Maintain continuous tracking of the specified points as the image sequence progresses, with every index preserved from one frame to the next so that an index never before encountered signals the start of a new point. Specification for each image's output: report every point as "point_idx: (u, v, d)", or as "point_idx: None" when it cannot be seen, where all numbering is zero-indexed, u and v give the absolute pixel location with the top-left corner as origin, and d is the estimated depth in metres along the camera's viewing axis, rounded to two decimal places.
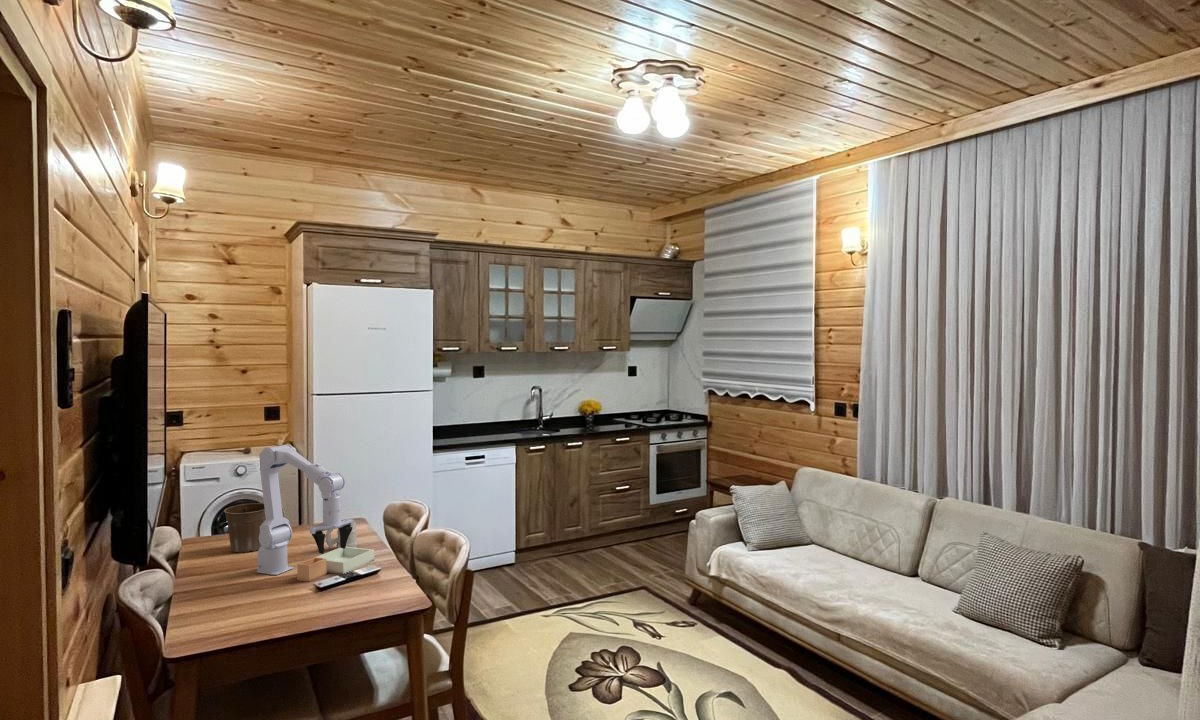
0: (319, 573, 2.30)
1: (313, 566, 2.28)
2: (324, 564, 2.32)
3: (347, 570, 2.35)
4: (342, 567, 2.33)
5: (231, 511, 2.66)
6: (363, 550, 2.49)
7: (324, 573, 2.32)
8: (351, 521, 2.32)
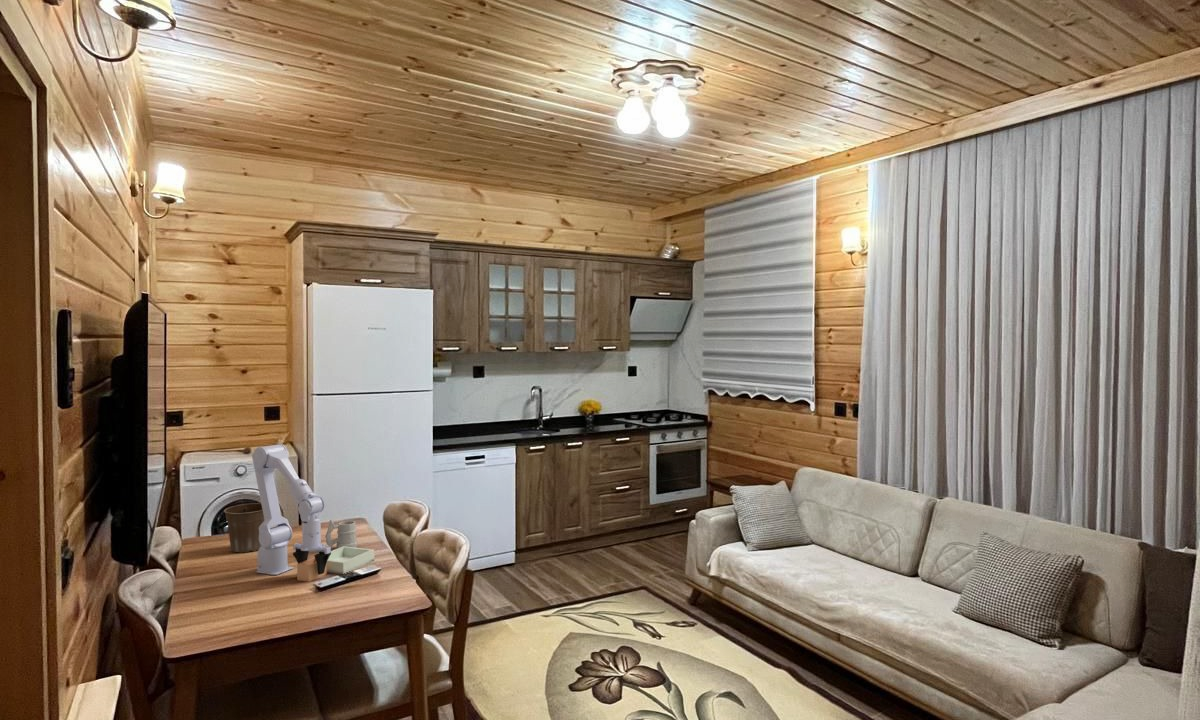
0: None
1: (313, 566, 2.28)
2: None
3: (347, 570, 2.35)
4: (342, 567, 2.33)
5: (231, 511, 2.66)
6: (363, 550, 2.49)
7: (324, 573, 2.32)
8: (324, 549, 2.27)
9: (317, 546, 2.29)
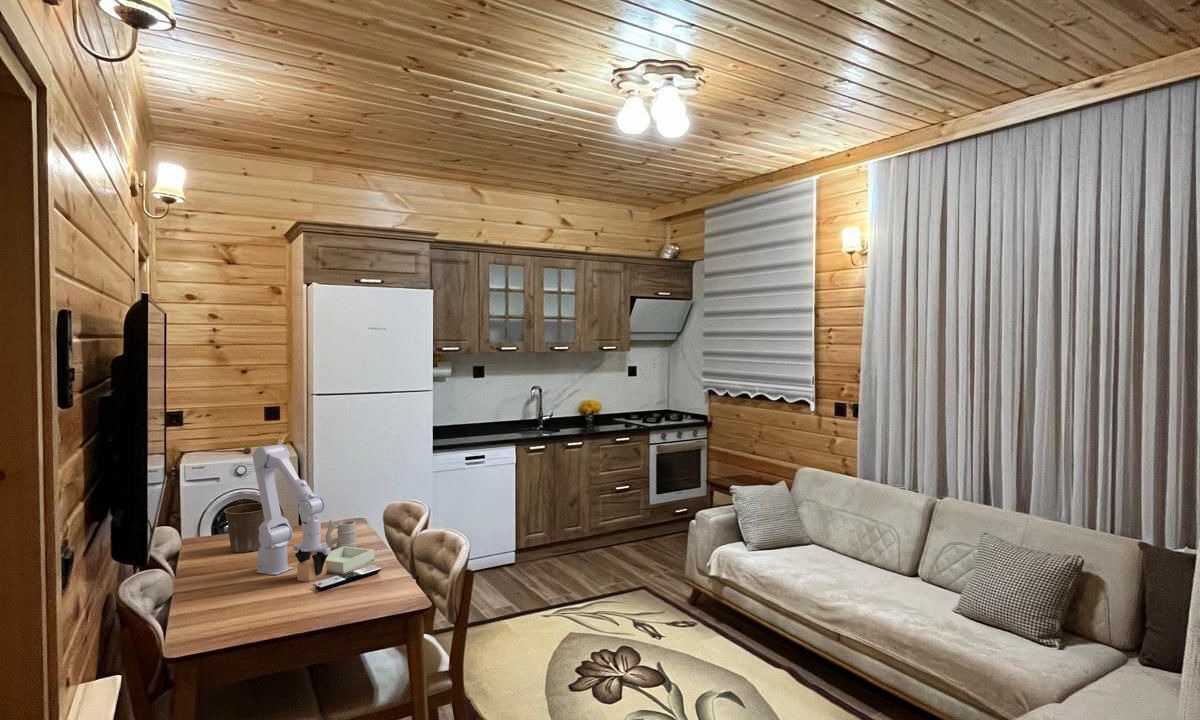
0: None
1: (313, 566, 2.28)
2: (324, 564, 2.32)
3: (347, 570, 2.35)
4: (342, 567, 2.33)
5: (231, 511, 2.66)
6: (363, 550, 2.49)
7: (324, 573, 2.32)
8: (324, 550, 2.27)
9: (317, 547, 2.29)
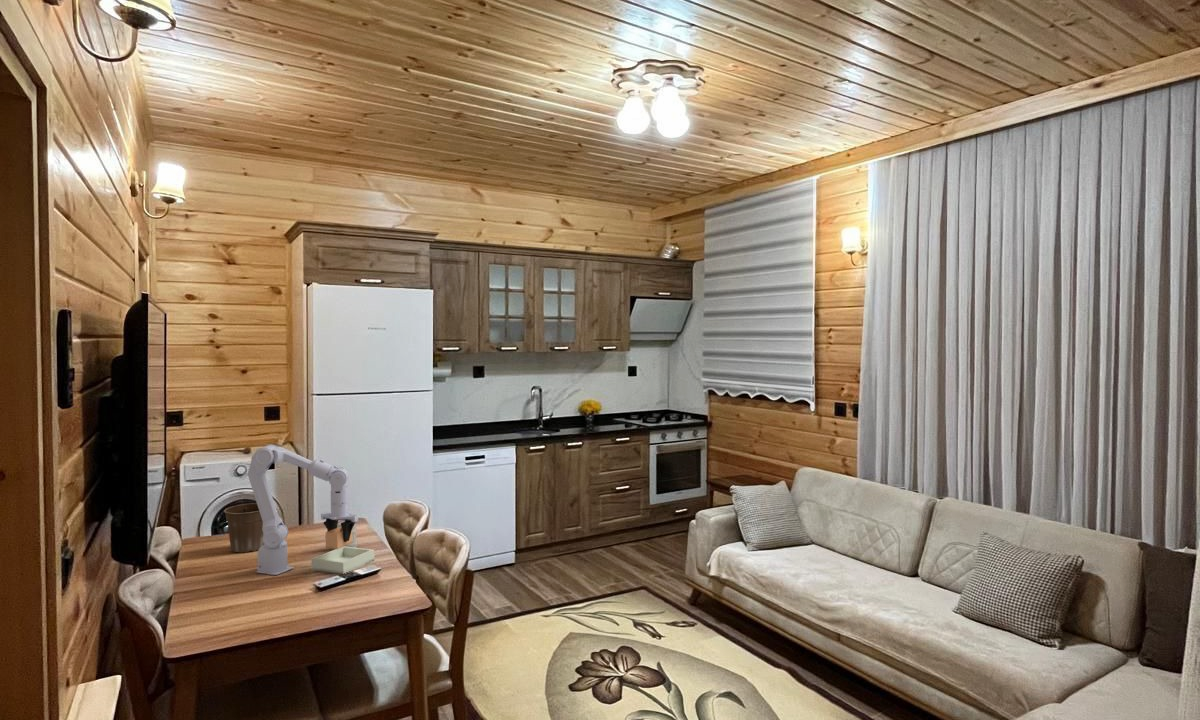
0: None
1: (341, 534, 2.38)
2: None
3: (347, 570, 2.35)
4: (342, 567, 2.33)
5: (231, 511, 2.66)
6: (363, 550, 2.49)
7: (350, 541, 2.43)
8: (352, 517, 2.38)
9: (345, 515, 2.40)
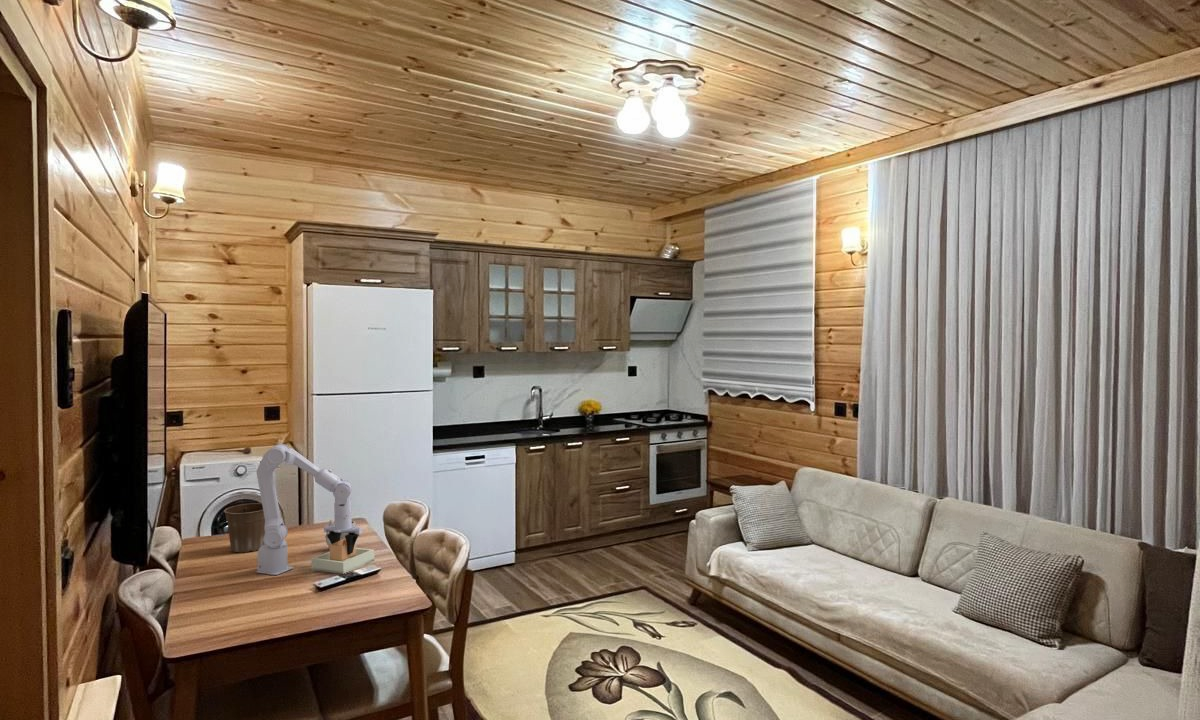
0: None
1: (345, 547, 2.40)
2: (354, 545, 2.45)
3: (347, 570, 2.35)
4: (342, 567, 2.33)
5: (231, 511, 2.66)
6: (363, 550, 2.49)
7: (354, 553, 2.45)
8: (357, 530, 2.40)
9: (349, 527, 2.42)
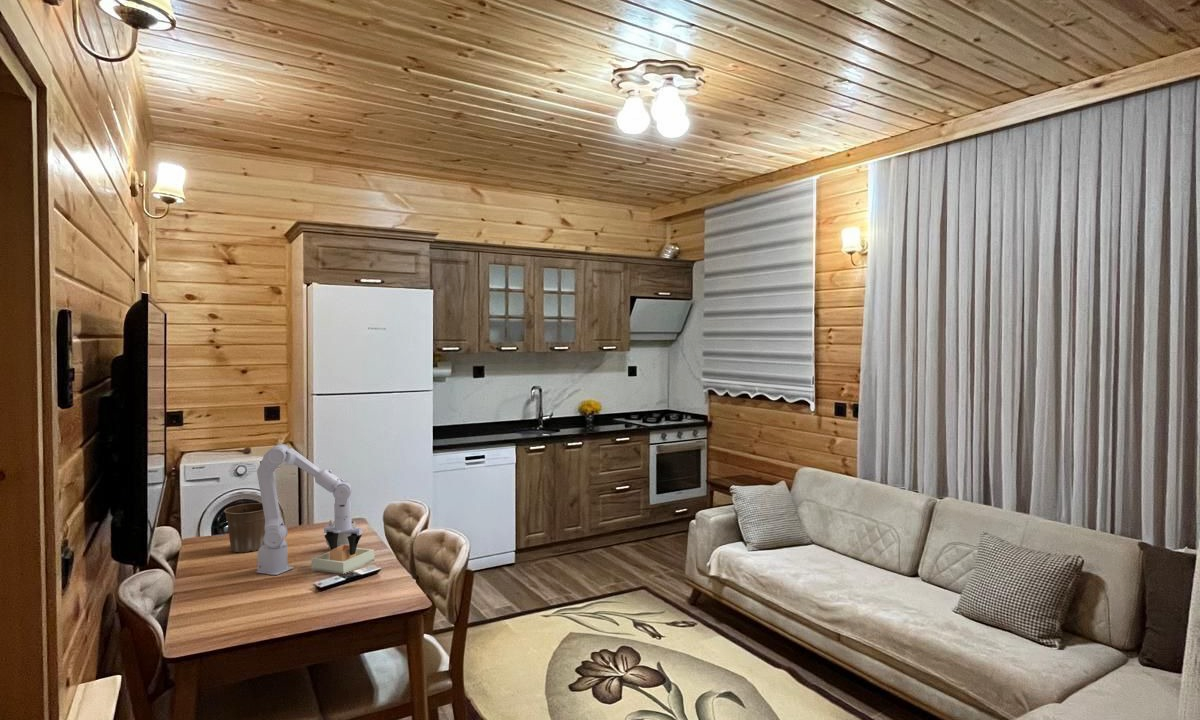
0: None
1: (345, 552, 2.40)
2: None
3: (347, 570, 2.35)
4: (342, 567, 2.33)
5: (231, 511, 2.66)
6: (363, 550, 2.49)
7: None
8: (357, 531, 2.40)
9: (349, 528, 2.42)
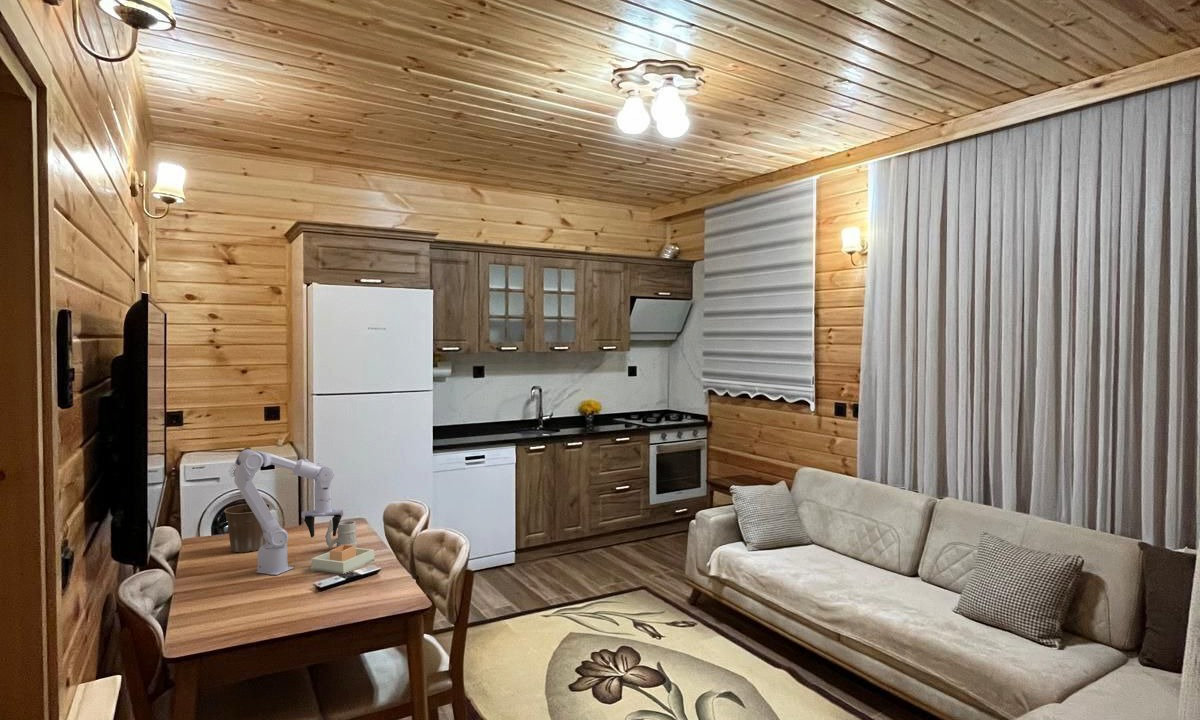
0: None
1: (345, 552, 2.40)
2: (354, 551, 2.45)
3: (347, 570, 2.35)
4: (342, 567, 2.33)
5: (231, 511, 2.66)
6: (363, 550, 2.49)
7: None
8: (341, 512, 2.47)
9: (331, 510, 2.47)
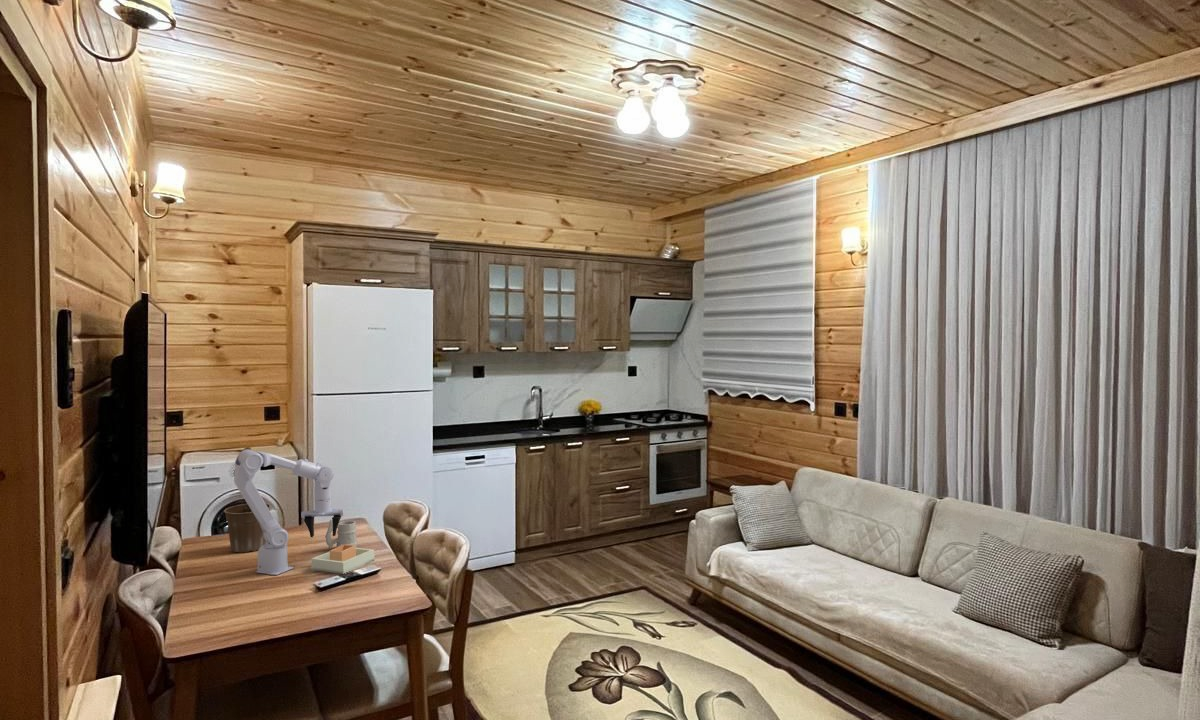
0: None
1: (345, 552, 2.40)
2: (354, 551, 2.45)
3: (347, 570, 2.35)
4: (342, 567, 2.33)
5: (231, 511, 2.66)
6: (363, 550, 2.49)
7: None
8: (340, 511, 2.47)
9: (330, 510, 2.47)
